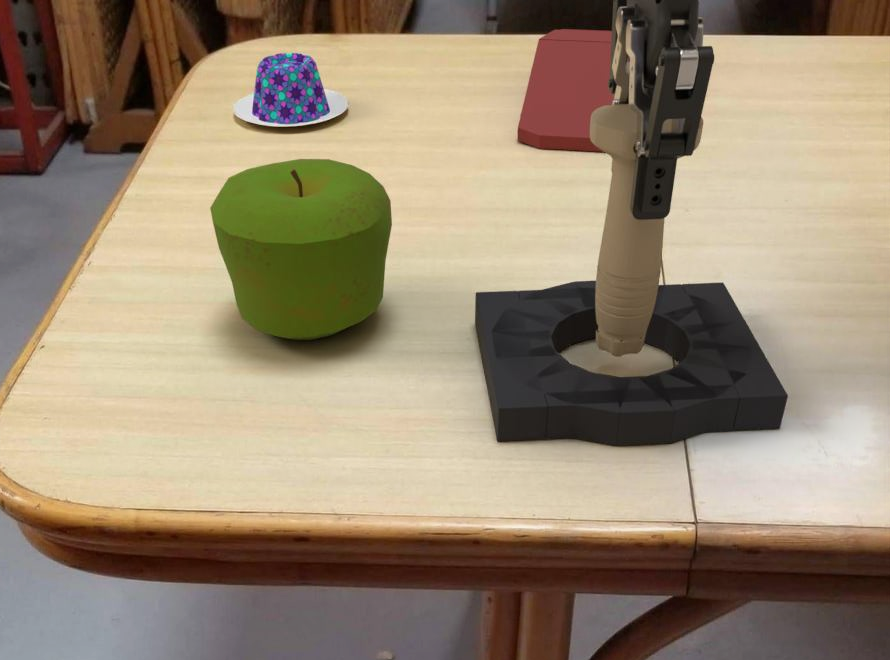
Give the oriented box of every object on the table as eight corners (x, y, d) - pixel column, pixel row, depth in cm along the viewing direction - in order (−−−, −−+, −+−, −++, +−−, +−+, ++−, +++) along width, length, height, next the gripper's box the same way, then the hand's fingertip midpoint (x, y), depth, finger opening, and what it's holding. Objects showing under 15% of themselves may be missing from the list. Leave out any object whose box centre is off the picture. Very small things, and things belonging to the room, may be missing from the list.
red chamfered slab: (637, 187, 105) (648, 67, 121) (643, 140, 101) (654, 22, 117) (514, 180, 107) (541, 62, 122) (516, 134, 103) (543, 18, 119)
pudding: (333, 136, 107) (329, 82, 103) (218, 130, 108) (210, 76, 105) (360, 96, 115) (357, 44, 112) (253, 91, 117) (247, 40, 114)
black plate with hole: (713, 306, 80) (719, 275, 78) (785, 438, 67) (794, 404, 65) (473, 316, 79) (474, 284, 77) (499, 451, 66) (500, 418, 64)
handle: (577, 323, 74) (597, 100, 64) (671, 334, 73) (706, 109, 63) (565, 358, 71) (585, 128, 61) (664, 371, 69) (699, 138, 59)
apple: (334, 381, 72) (321, 222, 65) (192, 337, 77) (164, 184, 70) (424, 302, 81) (422, 153, 73) (291, 267, 85) (276, 123, 78)
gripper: (797, -105, 48) (731, 247, 60) (714, -156, 59) (672, 150, 70) (632, -101, 48) (598, 252, 59) (579, -153, 59) (559, 154, 70)
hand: (638, 195), depth 65 cm, fingers closed on handle, 5 cm apart
